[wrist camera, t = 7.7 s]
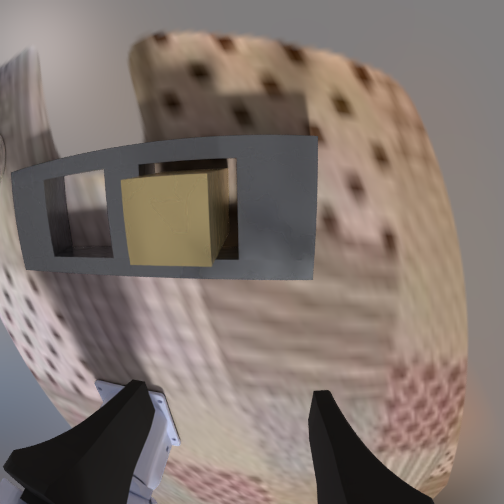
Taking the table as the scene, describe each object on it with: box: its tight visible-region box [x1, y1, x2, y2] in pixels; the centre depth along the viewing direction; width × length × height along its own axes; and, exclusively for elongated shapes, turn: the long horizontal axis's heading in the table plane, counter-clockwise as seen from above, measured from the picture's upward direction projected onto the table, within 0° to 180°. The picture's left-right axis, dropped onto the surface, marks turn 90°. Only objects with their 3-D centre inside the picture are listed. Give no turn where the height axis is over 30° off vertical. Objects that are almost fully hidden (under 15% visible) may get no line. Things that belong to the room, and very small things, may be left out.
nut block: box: [121, 168, 230, 267], centre depth 15 cm, size 4×4×6 cm
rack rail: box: [11, 135, 318, 280], centre depth 16 cm, size 8×22×2 cm, turn 91°
